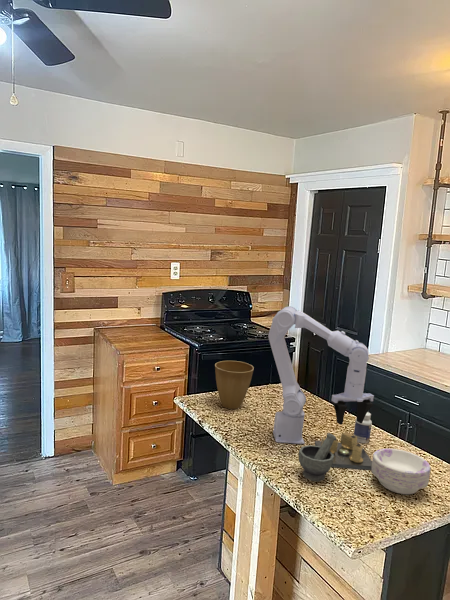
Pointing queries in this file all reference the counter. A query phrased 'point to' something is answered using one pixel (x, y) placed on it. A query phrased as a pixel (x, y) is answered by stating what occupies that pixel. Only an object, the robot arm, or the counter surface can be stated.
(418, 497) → the counter surface
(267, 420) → the counter surface
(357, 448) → the knob near
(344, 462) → the base plate
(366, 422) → the pill bottle
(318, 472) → the mortar and pestle
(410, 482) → the paper bowls
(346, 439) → the knob far
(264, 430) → the counter surface
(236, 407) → the plant pot
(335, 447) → the knob left
